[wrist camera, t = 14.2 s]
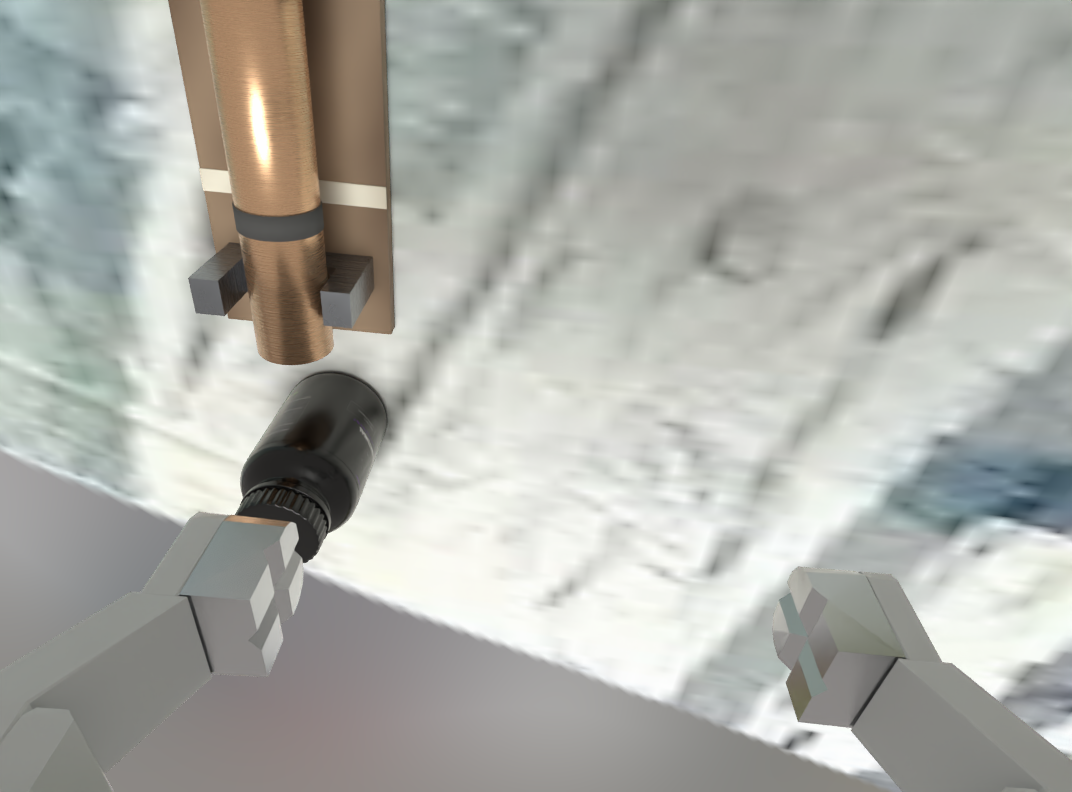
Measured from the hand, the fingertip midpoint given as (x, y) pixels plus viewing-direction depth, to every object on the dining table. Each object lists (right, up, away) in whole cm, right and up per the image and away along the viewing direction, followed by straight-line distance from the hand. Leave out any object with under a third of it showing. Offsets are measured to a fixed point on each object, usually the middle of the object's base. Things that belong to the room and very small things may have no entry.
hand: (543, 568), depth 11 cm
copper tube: (-13, +16, +21) cm, 30 cm away
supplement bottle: (-14, +2, +35) cm, 37 cm away
